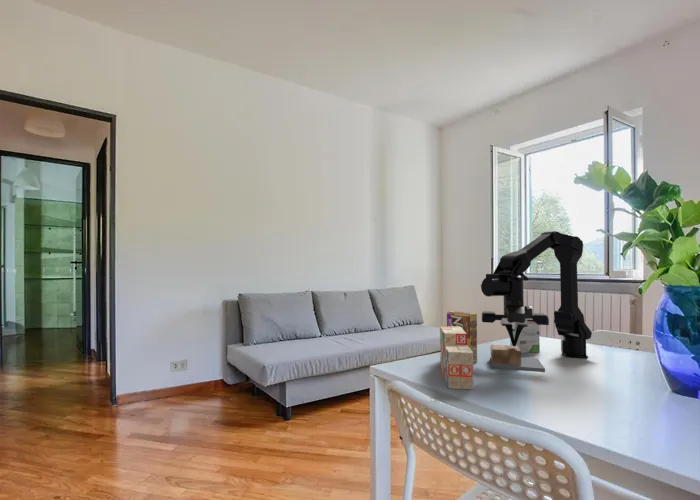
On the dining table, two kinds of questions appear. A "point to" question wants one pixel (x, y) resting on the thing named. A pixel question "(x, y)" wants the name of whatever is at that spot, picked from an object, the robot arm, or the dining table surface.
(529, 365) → the rubber mat
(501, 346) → the cream panel wooden box
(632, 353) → the dining table surface
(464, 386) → the stack of blocks
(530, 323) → the ink box
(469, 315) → the candy box
